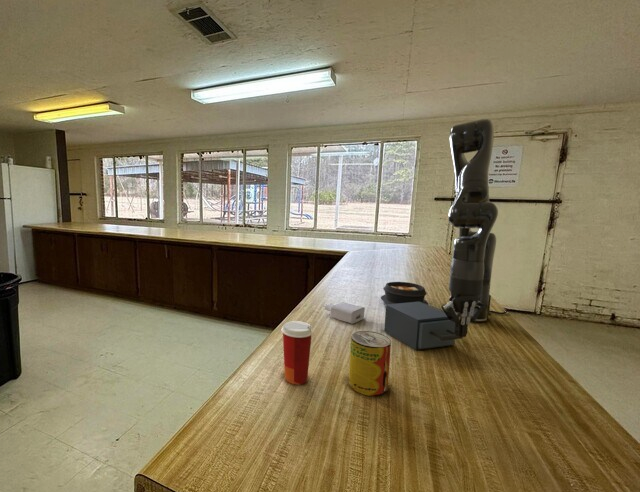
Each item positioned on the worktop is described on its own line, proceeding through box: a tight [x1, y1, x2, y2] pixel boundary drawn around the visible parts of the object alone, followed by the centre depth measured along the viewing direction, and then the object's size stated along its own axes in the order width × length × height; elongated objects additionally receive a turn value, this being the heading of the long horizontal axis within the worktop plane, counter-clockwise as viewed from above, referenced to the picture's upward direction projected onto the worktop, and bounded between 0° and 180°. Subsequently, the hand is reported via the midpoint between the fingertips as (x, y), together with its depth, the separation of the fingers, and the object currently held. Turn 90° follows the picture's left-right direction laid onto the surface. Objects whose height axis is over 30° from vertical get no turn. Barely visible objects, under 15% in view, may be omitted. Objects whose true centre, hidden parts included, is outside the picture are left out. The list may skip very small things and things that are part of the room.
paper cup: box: [280, 320, 314, 386], centre depth 80 cm, size 8×8×14 cm
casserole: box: [380, 281, 429, 306], centre depth 138 cm, size 25×19×8 cm
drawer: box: [418, 319, 464, 350], centre depth 100 cm, size 18×12×8 cm
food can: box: [348, 330, 392, 397], centre depth 77 cm, size 9×9×12 cm
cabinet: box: [383, 302, 451, 351], centre depth 104 cm, size 15×14×10 cm
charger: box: [322, 301, 366, 325], centre depth 124 cm, size 5×9×15 cm
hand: (460, 336), depth 89 cm, fingers closed
